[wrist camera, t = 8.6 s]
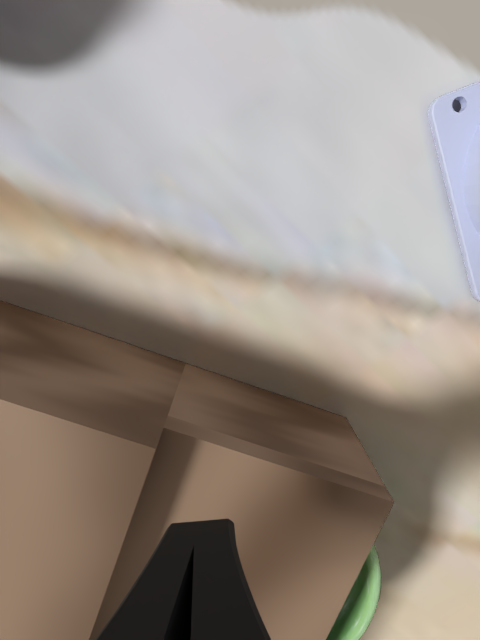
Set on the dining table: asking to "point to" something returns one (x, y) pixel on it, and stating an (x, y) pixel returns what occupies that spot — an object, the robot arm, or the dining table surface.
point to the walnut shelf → (165, 482)
